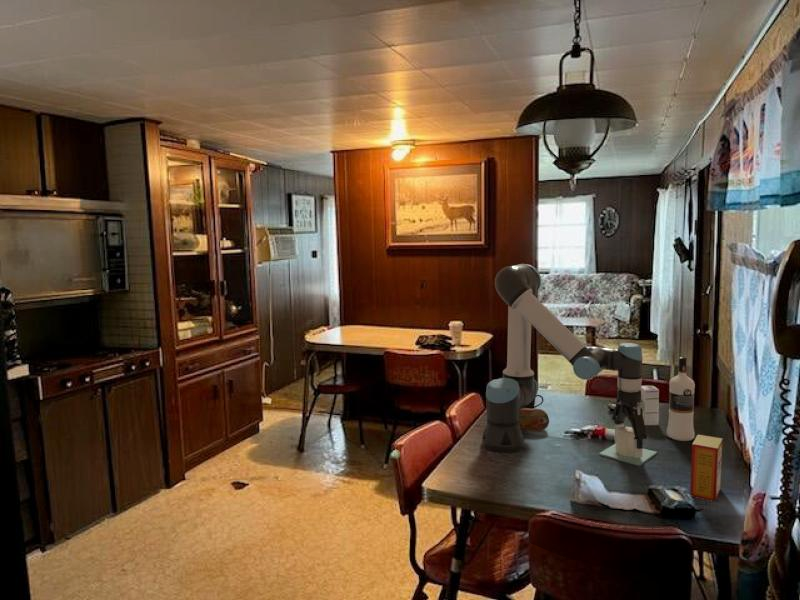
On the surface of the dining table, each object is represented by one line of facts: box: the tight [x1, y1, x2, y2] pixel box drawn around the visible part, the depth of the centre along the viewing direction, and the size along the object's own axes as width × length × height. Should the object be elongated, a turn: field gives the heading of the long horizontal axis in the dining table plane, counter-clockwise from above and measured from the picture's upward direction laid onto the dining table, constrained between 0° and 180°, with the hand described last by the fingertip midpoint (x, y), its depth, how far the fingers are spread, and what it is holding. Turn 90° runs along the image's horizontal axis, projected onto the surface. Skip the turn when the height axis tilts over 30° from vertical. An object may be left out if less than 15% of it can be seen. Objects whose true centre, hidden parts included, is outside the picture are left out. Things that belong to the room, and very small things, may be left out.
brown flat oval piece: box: [519, 408, 550, 432], centre depth 226 cm, size 15×3×8 cm, turn 76°
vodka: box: [666, 356, 696, 442], centre depth 212 cm, size 9×9×30 cm
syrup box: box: [638, 385, 660, 426], centre depth 229 cm, size 6×6×14 cm
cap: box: [615, 426, 635, 456], centre depth 199 cm, size 7×7×8 cm
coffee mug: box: [523, 394, 544, 409], centre depth 245 cm, size 12×9×10 cm
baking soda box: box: [689, 434, 724, 502], centre depth 169 cm, size 10×6×16 cm
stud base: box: [598, 442, 658, 467], centre depth 199 cm, size 14×14×6 cm
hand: (628, 449), depth 200 cm, fingers open, 13 cm apart
